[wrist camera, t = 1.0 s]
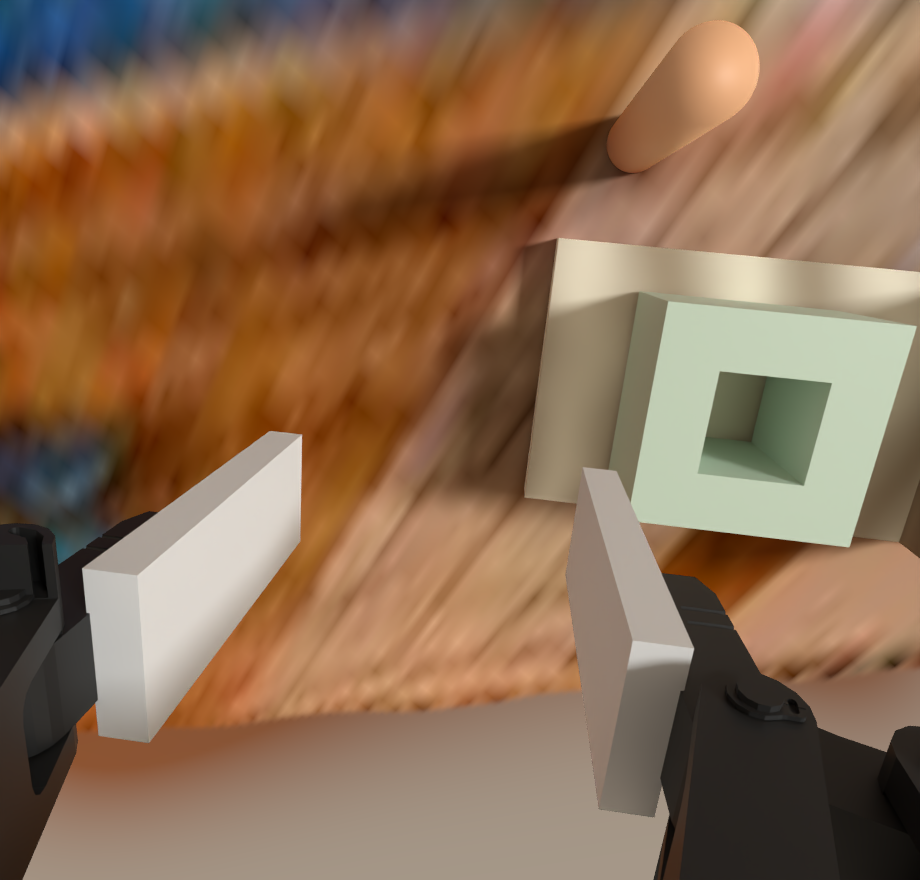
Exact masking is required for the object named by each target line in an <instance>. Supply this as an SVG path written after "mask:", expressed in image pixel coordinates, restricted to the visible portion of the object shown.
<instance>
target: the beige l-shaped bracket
mask: <svg viewBox="0 0 920 880" xmlns="http://www.w3.org/2000/svg"><path fill="white" fill-rule="evenodd" d="M639 291H643V292H653V293H664V294H674V295H684V296H694V297H704V298H714V299H724V300H734V301H745V302H755V303H765V304H775V305H785V306H795V307H805V308H815V309H826V310H836V311H842V312H847V313H852V314H857V315H863V316H868V317H873V318H878V319H883V320H888V321H893V322H899V323H904V324H909V325H914V326H917V328H916V331H915V335H914V338H913V341H912V344H911V348H910V351H909V354H908V358H907V361H906V364H905V367H904V371H903V374H902V377H901V380H900V384H899V387H898V390H897V393H896V397H895V400H894V403H893V406H892V410H891V413H890V416H889V420H888V423H887V426H886V429H885V433H884V436H883V439H882V442H881V446H880V449H879V452H878V455H877V459H876V462H875V465H874V468H873V472H872V475H871V478H870V481H869V485H868V488H867V491H866V495H865V498H864V501H863V504H862V508H861V511H860V514H859V517H858V521H857V524H856V527H855V530H854V534H853V537H860V538H869V539H877V540H885V541H894V542H899V543H901V544H902V545H903V546H905V547H906V548H907V549H909V550H910V551H911V552H912V553H914V554H915V555H916V556H918V557H919V558H920V272H912V271H902V270H891V269H881V268H870V267H860V266H849V265H838V264H828V263H817V262H807V261H796V260H786V259H775V258H764V257H754V256H743V255H733V254H722V253H711V252H701V251H690V250H680V249H669V248H659V247H648V246H637V245H627V244H616V243H606V242H595V241H585V240H574V239H563V238H557V242H556V250H555V257H554V265H553V272H552V280H551V288H550V295H549V303H548V311H547V318H546V326H545V334H544V341H543V349H542V356H541V364H540V372H539V379H538V387H537V395H536V402H535V410H534V417H533V425H532V433H531V440H530V448H529V456H528V463H527V471H526V478H525V486H524V494H525V498H533V499H542V500H550V501H558V502H567V503H575V504H577V499H578V493H579V487H580V480H581V474H582V468H583V467H586V468H595V469H604V470H608V469H609V463H610V457H611V452H612V446H613V440H614V434H615V428H616V423H617V417H618V411H619V405H620V399H621V394H622V388H623V382H624V376H625V370H626V365H627V359H628V353H629V347H630V341H631V336H632V330H633V324H634V318H635V312H636V307H637V301H638V295H639ZM766 379H767V376H760V375H751V374H741V373H732V372H722V371H720V372H719V377H718V381H717V386H716V391H715V395H714V400H713V404H712V409H711V414H710V418H709V423H708V427H707V432H706V437H712V438H721V439H730V440H739V441H748V442H751V441H752V437H753V433H754V428H755V424H756V420H757V416H758V412H759V408H760V404H761V399H762V395H763V391H764V387H765V383H766Z"/></svg>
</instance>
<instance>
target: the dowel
mask: <svg viewBox="0 0 920 880" xmlns="http://www.w3.org/2000/svg"><path fill="white" fill-rule="evenodd" d="M758 76H759V56H758V51H757V48H756V46H755V44H754V42H753V40H752V38H751V37H750V36H749V34H748V33H747V32H746V31H745V30H744V29H742V28H741V27H739V26H738V25H736V24H734V23H731V22H728V21H722V20H714V21H707V22H704V23H701V24H699V25H696V26H694V27H693V28H691V29H689V30H688V31H687V32H686V33H684V34H683V35H682V36H681V37H680V38H679V39H678V41H677V42H676V43H675V44H674V46H673V47H672V48H671V50H670V51H669V52H668V54H667V55H666V56H665V58H664V59H663V60H662V61H661V63H660V64H659V65H658V67H657V68H656V69H655V71H654V72H653V73H652V75H651V76H650V77H649V79H648V80H647V81H646V83H645V84H644V85H643V87H642V88H641V89H640V90H639V92H638V93H637V94H636V96H635V97H634V98H633V100H632V101H631V102H630V104H629V105H628V106H627V108H626V109H625V110H624V112H623V113H622V114H621V115H620V117H619V118H618V119H617V121H616V122H615V123H614V125H613V126H612V128H611V130H610V132H609V134H608V138H607V152H608V156H609V158H610V160H611V162H612V163H613V164H614V165H615V166H616V167H617V168H618V169H620V170H622V171H624V172H627V173H639V172H642V171H645V170H647V169H648V168H650V167H652V166H653V165H655V164H657V163H658V162H660V161H661V160H663V159H665V158H666V157H668V156H669V155H671V154H673V153H674V152H676V151H677V150H679V149H681V148H682V147H684V146H685V145H687V144H689V143H690V142H692V141H694V140H695V139H697V138H698V137H700V136H702V135H703V134H705V133H706V132H708V131H710V130H711V129H713V128H714V127H716V126H718V125H719V124H721V123H723V122H724V121H726V120H727V119H729V118H731V117H732V116H733V115H735V114H736V113H737V112H739V111H740V110H741V109H742V108H743V107H744V105H745V104H746V103H747V102H748V100H749V99H750V97H751V95H752V93H753V92H754V89H755V87H756V84H757V80H758Z"/></svg>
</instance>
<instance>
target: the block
mask: <svg viewBox="0 0 920 880" xmlns="http://www.w3.org/2000/svg"><path fill="white" fill-rule="evenodd" d="M916 328H917V326H914V325H909V324H904V323H899V322H893V321H888V320H883V319H878V318H873V317H868V316H863V315H857V314H852V313H847V312H842V311H836V310H826V309H815V308H805V307H795V306H785V305H775V304H765V303H755V302H745V301H734V300H724V299H714V298H704V297H694V296H684V295H674V294H664V293H653V292H643V291H639V295H638V301H637V307H636V312H635V318H634V324H633V330H632V336H631V341H630V347H629V353H628V359H627V365H626V370H625V376H624V382H623V388H622V394H621V399H620V405H619V411H618V417H617V423H616V428H615V434H614V440H613V446H612V452H611V457H610V463H609V469H608V470H612V471H617V473H618V476H619V478H620V480H621V482H622V485H623V487H624V489H625V492H626V494H627V496H628V498H629V501H630V503H631V505H632V508H633V510H634V512H635V514H636V517H637V519H638V521H639V522H643V523H651V524H659V525H667V526H676V527H684V528H692V529H701V530H709V531H717V532H726V533H734V534H742V535H751V536H759V537H767V538H775V539H784V540H792V541H800V542H809V543H817V544H825V545H834V546H842V547H850V543H851V540H852V537H853V534H854V530H855V527H856V524H857V521H858V517H859V514H860V511H861V508H862V504H863V501H864V498H865V495H866V491H867V488H868V485H869V481H870V478H871V475H872V472H873V468H874V465H875V462H876V459H877V455H878V452H879V449H880V446H881V442H882V439H883V436H884V433H885V429H886V426H887V423H888V420H889V416H890V413H891V410H892V406H893V403H894V400H895V397H896V393H897V390H898V387H899V384H900V380H901V377H902V374H903V371H904V367H905V364H906V361H907V358H908V354H909V351H910V348H911V344H912V341H913V338H914V335H915V331H916ZM720 371H722V372H732V373H741V374H751V375H760V376H767V379H766V383H765V387H764V391H763V395H762V399H761V404H760V408H759V412H758V416H757V420H756V424H755V428H754V433H753V437H752V441H751V442H748V441H739V440H730V439H721V438H712V437H706V432H707V427H708V423H709V418H710V414H711V409H712V404H713V400H714V395H715V391H716V386H717V381H718V377H719V372H720Z"/></svg>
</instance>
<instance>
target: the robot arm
mask: <svg viewBox="0 0 920 880" xmlns="http://www.w3.org/2000/svg"><path fill="white" fill-rule="evenodd" d="M301 462H302V435H300V434H291V433H283V432H274V431H269V432H268V433H267V434H265V435H264V436H263V437H261V438H260V439H258V440H257V441H256V442H254V443H253V444H252V445H250V446H249V447H247V448H246V449H245V450H243V451H242V452H241V453H239V454H238V455H237V456H235V457H234V458H232V459H231V460H230V461H228V462H227V463H226V464H224V465H223V466H221V467H220V468H219V469H217V470H216V471H215V472H213V473H212V474H211V475H209V476H208V477H206V478H205V479H204V480H202V481H201V482H200V483H198V484H197V485H195V486H194V487H193V488H191V489H190V490H189V491H187V492H186V493H185V494H183V495H182V496H180V497H179V498H178V499H176V500H175V501H174V502H172V503H171V504H169V505H168V506H167V507H165V508H164V509H163V510H161V511H160V512H159V513H158V512H150V511H149V512H146V513H143V514H140V515H138V516H135V517H132V518H130V519H127V520H124V521H122V522H120V523H119V524H117V525H116V526H114V527H113V528H111V529H110V530H109V531H107V532H106V533H104V534H103V535H102V538H101V537H98V538H97V539H95V540H94V541H92V542H91V543H90V544H88V545H87V546H86V549H83V548H82V549H81V550H79V551H78V552H76V553H75V554H74V555H72V556H71V557H69V558H68V559H66V560H65V561H63V562H62V563H60V564H59V565H58V560H57V551H56V542H55V535H54V534H53V533H52V532H51V531H50V530H49V529H48V528H45V527H41V526H38V525H34V524H18V523H14V524H3V525H0V880H22V879H23V877H24V875H25V872H26V870H27V868H28V865H29V863H30V860H31V858H32V856H33V853H34V851H35V849H36V846H37V844H38V841H39V839H40V837H41V835H42V832H43V830H44V828H45V825H46V823H47V820H48V818H49V816H50V813H51V811H52V809H53V806H54V804H55V802H56V799H57V797H58V794H59V792H60V790H61V787H62V785H63V783H64V780H65V778H66V776H67V773H68V771H69V769H70V766H71V764H72V762H73V759H74V757H75V755H76V749H77V743H78V738H77V729H76V723H77V722H78V721H79V720H80V719H81V717H82V716H83V715H84V714H85V713H86V712H87V711H88V710H89V709H90V708H91V707H92V706H93V705H94V704H95V703H96V713H97V723H98V733H99V736H105V737H111V738H118V739H125V740H132V741H139V742H145V743H149V742H150V741H151V740H152V738H153V737H154V736H155V734H156V733H157V732H158V730H159V729H160V728H161V726H162V725H163V724H164V722H165V721H166V720H167V718H168V717H169V716H170V714H171V713H172V712H173V710H174V709H175V708H176V706H177V705H178V704H179V702H180V701H181V700H182V698H183V697H184V696H185V694H186V693H187V692H188V690H189V689H190V688H191V686H192V685H193V684H194V682H195V681H196V680H197V678H198V677H199V676H200V674H201V673H202V672H203V670H204V669H205V668H206V666H207V665H208V664H209V662H210V661H211V660H212V658H213V657H214V656H215V654H216V653H217V652H218V650H219V649H220V648H221V646H222V645H223V644H224V642H225V641H226V640H227V638H228V637H229V636H230V634H231V633H232V632H233V630H234V629H235V628H236V626H237V625H238V624H239V622H240V621H241V620H242V618H243V617H244V616H245V614H246V613H247V612H248V610H249V609H250V608H251V606H252V605H253V604H254V602H255V601H256V600H257V598H258V597H259V596H260V594H261V593H262V592H263V590H264V589H265V588H266V586H267V585H268V584H269V582H270V581H271V580H272V578H273V577H274V576H275V574H276V573H277V572H278V570H279V569H280V568H281V566H282V565H283V564H284V562H285V561H286V560H287V558H288V557H289V556H290V554H291V553H292V552H293V550H294V549H295V548H296V546H297V545H298V544H299V542H300V522H301ZM566 581H567V589H568V596H569V603H570V610H571V617H572V624H573V631H574V638H575V645H576V652H577V659H578V666H579V673H580V680H581V687H582V694H583V701H584V708H585V715H586V721H587V729H588V736H589V743H590V750H591V757H592V764H593V772H594V779H595V786H596V793H597V800H598V806H599V809H601V810H608V811H614V812H622V813H628V814H635V815H641V816H648V817H654V816H655V812H656V808H657V803H658V799H659V795H660V791H661V787H663V791H664V794H665V798H666V802H667V806H668V810H669V813H670V815H669V819H668V823H667V827H666V831H665V835H664V839H663V843H662V848H661V851H660V855H659V860H658V864H657V868H656V872H655V876H654V880H920V727H918V726H917V727H916V726H907V727H904V728H902V729H899V730H896V731H895V733H894V735H893V737H892V740H891V742H890V745H889V748H888V750H887V752H884V751H881V750H878V749H875V748H872V747H869V746H866V745H863V744H860V743H858V742H855V741H852V740H848V739H846V738H843V737H840V736H837V735H835V734H832V733H830V732H827V731H825V730H823V729H820V728H818V727H817V722H816V720H815V717H814V715H813V713H812V711H811V708H810V707H809V706H808V705H807V704H806V703H805V701H803V699H802V698H801V697H800V696H799V695H798V694H797V693H796V692H794V691H792V690H791V689H789V688H788V687H786V686H785V685H783V684H782V683H780V682H779V681H777V680H774V679H772V678H770V677H767V676H765V675H762V674H761V673H760V672H759V670H758V668H757V666H756V665H755V663H754V661H753V659H752V658H751V656H750V654H749V652H748V650H747V649H746V647H745V645H744V643H743V642H742V640H741V638H740V636H739V635H738V633H737V631H736V630H734V626H733V624H732V622H731V621H730V619H729V617H728V615H725V610H724V608H723V606H722V605H721V603H720V601H719V599H718V598H717V596H716V594H715V593H714V592H712V591H711V590H710V589H709V588H708V587H706V586H705V585H704V584H703V583H701V582H700V581H699V580H698V579H696V578H695V577H689V576H681V575H673V574H665V573H661V572H660V569H659V567H658V565H657V562H656V560H655V558H654V556H653V553H652V551H651V549H650V546H649V544H648V542H647V540H646V537H645V535H644V533H643V530H642V528H641V526H640V524H639V521H638V519H637V517H636V514H635V512H634V510H633V508H632V505H631V503H630V501H629V498H628V496H627V494H626V492H625V489H624V487H623V485H622V482H621V480H620V478H619V476H618V473H617V471H612V470H604V469H595V468H586V467H583V468H582V474H581V480H580V487H579V493H578V499H577V505H576V512H575V518H574V524H573V531H572V537H571V543H570V550H569V556H568V562H567V568H566Z"/></svg>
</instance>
